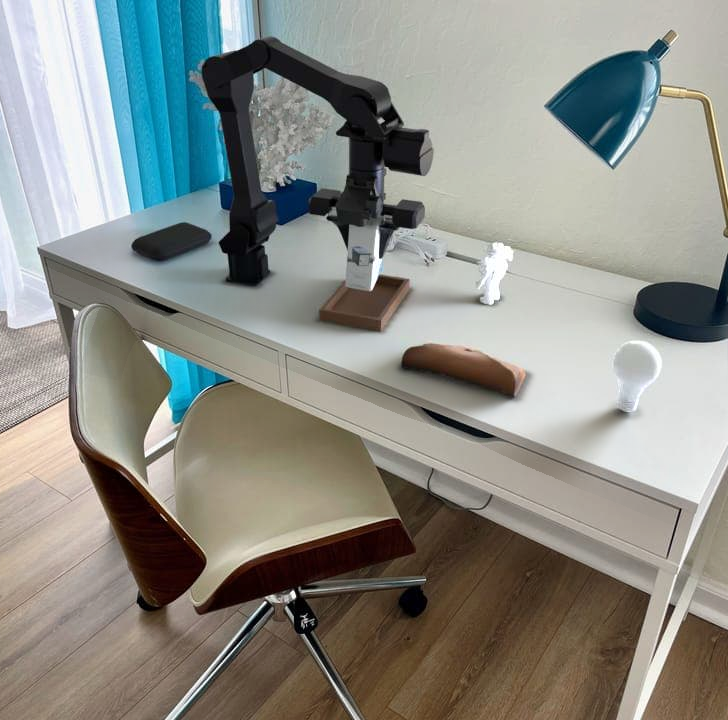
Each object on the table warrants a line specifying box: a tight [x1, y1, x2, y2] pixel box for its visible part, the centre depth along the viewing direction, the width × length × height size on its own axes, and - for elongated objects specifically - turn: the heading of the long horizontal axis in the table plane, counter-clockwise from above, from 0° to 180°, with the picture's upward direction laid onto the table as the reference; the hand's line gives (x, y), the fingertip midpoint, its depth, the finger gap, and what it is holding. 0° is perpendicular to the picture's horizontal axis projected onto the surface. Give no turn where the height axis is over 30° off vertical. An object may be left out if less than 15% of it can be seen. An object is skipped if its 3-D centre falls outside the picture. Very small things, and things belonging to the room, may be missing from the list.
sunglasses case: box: [400, 343, 527, 398], centre depth 112 cm, size 18×7×7 cm
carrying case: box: [131, 221, 213, 263], centre depth 150 cm, size 11×3×15 cm
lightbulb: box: [612, 340, 662, 413], centre depth 102 cm, size 6×6×11 cm
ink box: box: [345, 216, 385, 291], centre depth 125 cm, size 9×5×12 cm, turn 168°
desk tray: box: [318, 273, 411, 332], centre depth 131 cm, size 11×17×2 cm
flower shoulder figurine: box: [474, 241, 514, 305], centre depth 130 cm, size 9×4×12 cm, turn 140°
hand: (365, 255), depth 126 cm, fingers closed on ink box, 5 cm apart
